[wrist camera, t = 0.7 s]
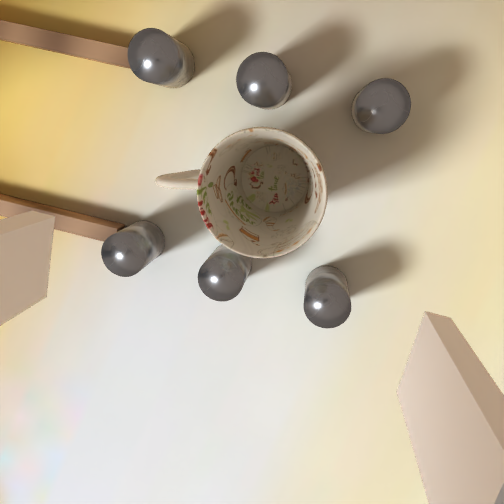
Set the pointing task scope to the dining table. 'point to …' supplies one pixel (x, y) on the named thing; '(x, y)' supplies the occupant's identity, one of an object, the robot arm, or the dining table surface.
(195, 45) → the dining table surface
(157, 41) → the spacer field
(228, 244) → the mug
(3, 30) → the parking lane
